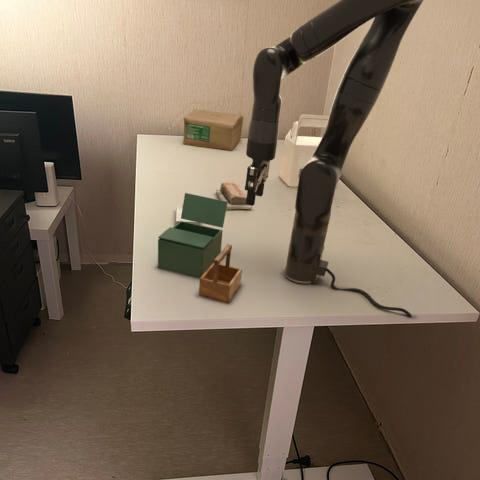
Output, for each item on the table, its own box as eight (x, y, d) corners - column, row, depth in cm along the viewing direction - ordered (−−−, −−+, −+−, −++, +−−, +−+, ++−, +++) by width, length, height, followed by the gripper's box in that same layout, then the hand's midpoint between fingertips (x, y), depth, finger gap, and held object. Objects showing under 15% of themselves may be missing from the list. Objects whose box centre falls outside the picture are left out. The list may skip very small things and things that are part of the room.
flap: (180, 218, 134) (181, 218, 135) (222, 227, 132) (222, 227, 132) (184, 192, 133) (185, 192, 133) (227, 201, 130) (227, 201, 130)
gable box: (287, 186, 199) (298, 117, 183) (278, 176, 209) (288, 110, 193) (335, 187, 204) (350, 120, 188) (324, 178, 214) (337, 113, 199)
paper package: (181, 144, 239) (182, 115, 231) (194, 134, 260) (195, 107, 252) (232, 152, 237) (235, 123, 229) (241, 141, 258) (243, 114, 250)
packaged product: (216, 181, 180) (240, 181, 183) (215, 193, 183) (239, 193, 185) (226, 197, 166) (253, 197, 168) (225, 210, 168) (251, 210, 171)
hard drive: (200, 222, 153) (199, 208, 163) (175, 221, 152) (176, 207, 162) (200, 227, 154) (199, 212, 164) (175, 225, 153) (176, 211, 163)
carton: (180, 247, 140) (180, 218, 134) (220, 256, 137) (222, 227, 132) (158, 268, 128) (157, 236, 122) (201, 278, 125) (203, 247, 120)
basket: (212, 278, 126) (215, 241, 120) (240, 285, 124) (244, 247, 118) (198, 295, 118) (200, 256, 111) (228, 303, 116) (232, 263, 110)
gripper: (270, 146, 110) (260, 211, 119) (283, 135, 122) (274, 195, 131) (240, 140, 111) (233, 205, 121) (256, 130, 123) (248, 189, 132)
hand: (254, 200), depth 126 cm, fingers open, 8 cm apart
